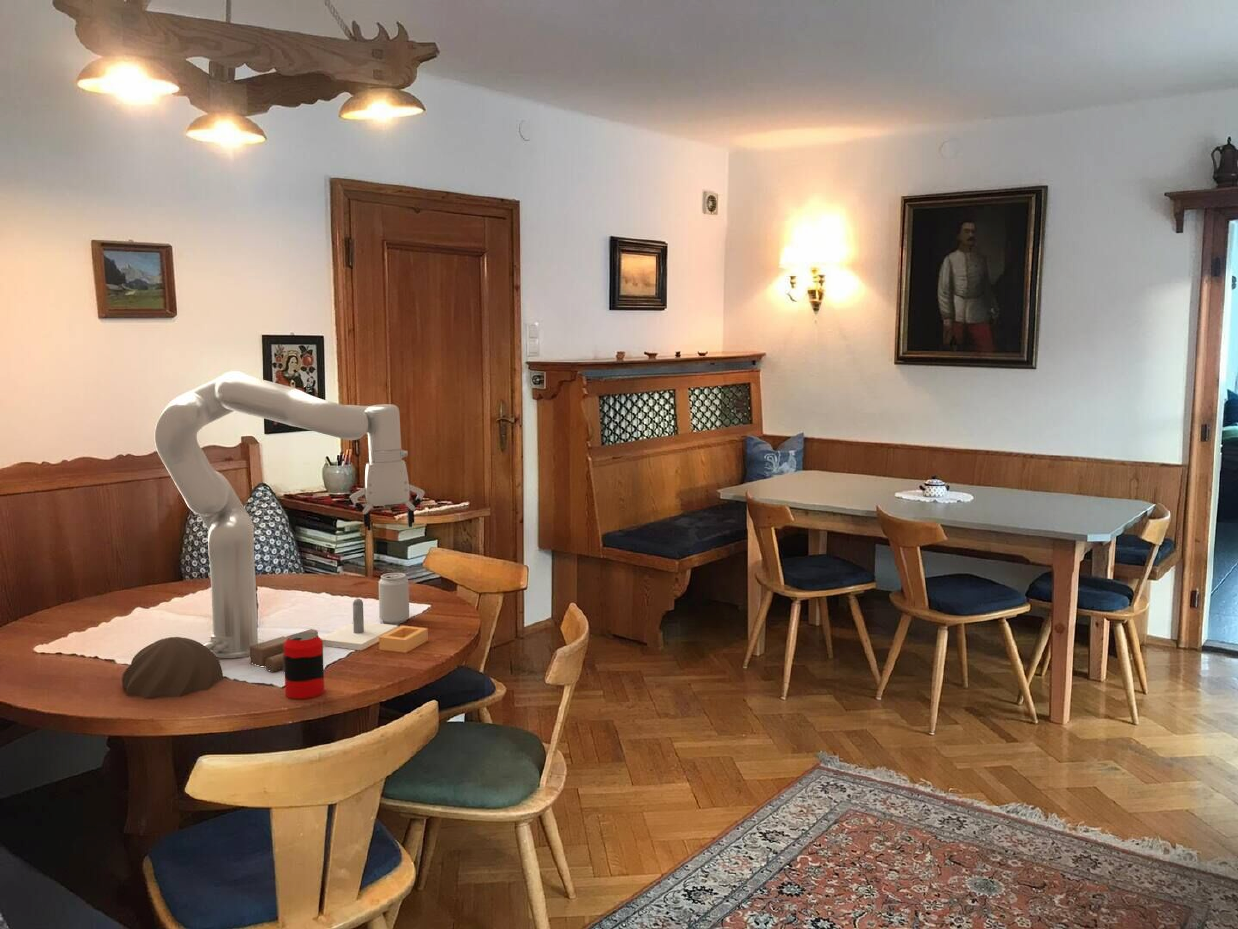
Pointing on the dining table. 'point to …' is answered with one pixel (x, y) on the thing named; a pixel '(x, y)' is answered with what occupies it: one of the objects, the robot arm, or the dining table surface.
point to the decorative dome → (171, 669)
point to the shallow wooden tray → (403, 639)
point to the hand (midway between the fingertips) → (389, 527)
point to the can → (393, 598)
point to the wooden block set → (271, 653)
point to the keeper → (357, 631)
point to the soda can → (303, 666)
